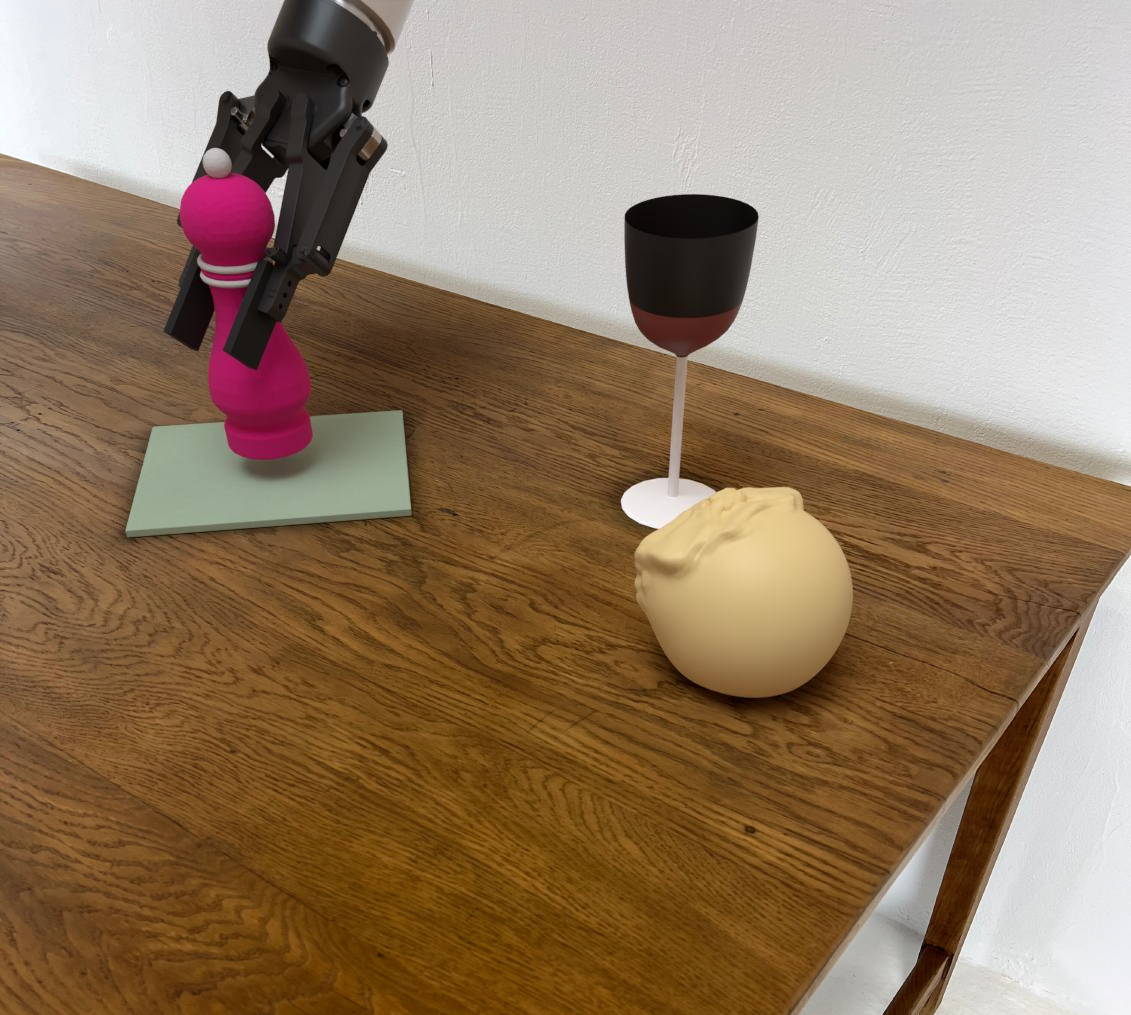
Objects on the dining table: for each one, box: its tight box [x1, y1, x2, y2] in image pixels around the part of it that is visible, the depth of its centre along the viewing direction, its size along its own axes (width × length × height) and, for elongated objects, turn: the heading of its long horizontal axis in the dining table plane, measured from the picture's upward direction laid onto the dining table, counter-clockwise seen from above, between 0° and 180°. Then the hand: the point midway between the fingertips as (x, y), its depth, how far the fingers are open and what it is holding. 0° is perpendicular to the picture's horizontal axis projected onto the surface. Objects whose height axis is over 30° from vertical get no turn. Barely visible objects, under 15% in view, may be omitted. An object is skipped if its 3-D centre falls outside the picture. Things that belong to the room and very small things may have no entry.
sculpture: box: [633, 486, 854, 699], centre depth 66 cm, size 11×12×11 cm
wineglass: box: [620, 193, 760, 530], centre depth 77 cm, size 8×9×20 cm
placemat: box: [124, 409, 413, 538], centre depth 87 cm, size 20×16×1 cm
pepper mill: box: [179, 148, 313, 460], centre depth 79 cm, size 7×7×20 cm
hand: (210, 350), depth 78 cm, fingers closed on pepper mill, 5 cm apart
